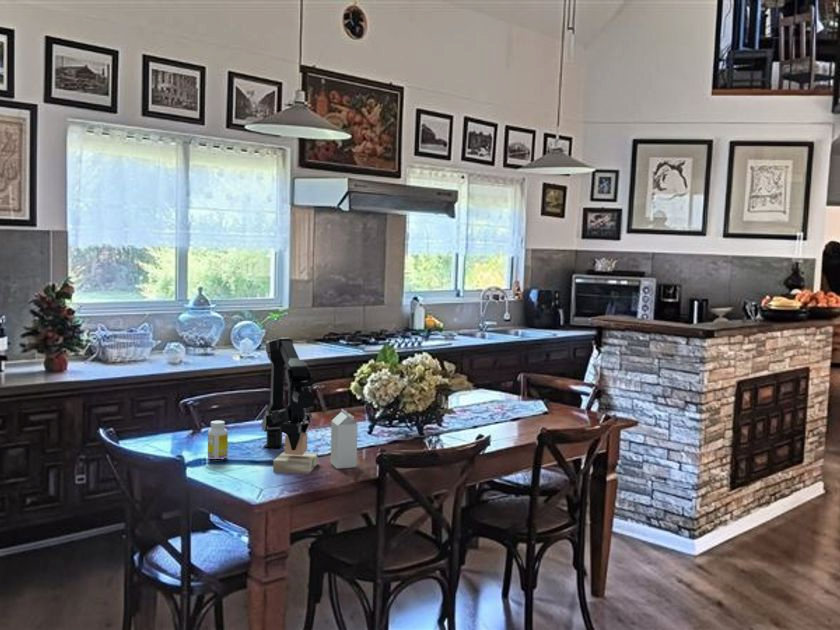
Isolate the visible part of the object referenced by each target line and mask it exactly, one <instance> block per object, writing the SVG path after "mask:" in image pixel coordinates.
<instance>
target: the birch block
mask: <svg viewBox="0 0 840 630" xmlns="http://www.w3.org/2000/svg"><path fill="white" fill-rule="evenodd" d="M272 462H273V464H272V468H273V469H272V471H273V472H276V473H277V472H278V473H291V474H307V475H309V474H310V473H312V470H314V469H315V467H317V465H318V464H319V454H318V453H316V452H305V453H304V454H303V455H293V454H285V450H284V451H283V452H281V453H280V454H279V455H278V456H277V457H275V459H273V461H272Z"/></svg>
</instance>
